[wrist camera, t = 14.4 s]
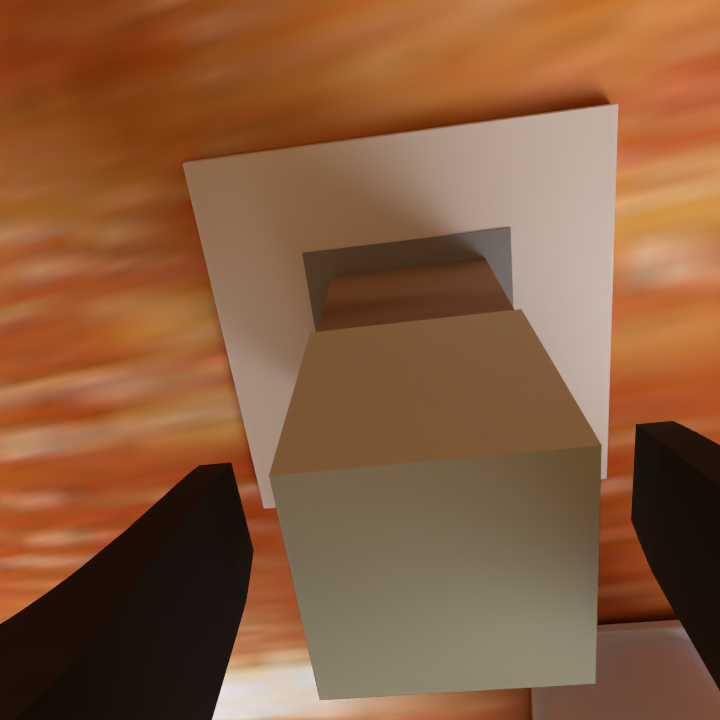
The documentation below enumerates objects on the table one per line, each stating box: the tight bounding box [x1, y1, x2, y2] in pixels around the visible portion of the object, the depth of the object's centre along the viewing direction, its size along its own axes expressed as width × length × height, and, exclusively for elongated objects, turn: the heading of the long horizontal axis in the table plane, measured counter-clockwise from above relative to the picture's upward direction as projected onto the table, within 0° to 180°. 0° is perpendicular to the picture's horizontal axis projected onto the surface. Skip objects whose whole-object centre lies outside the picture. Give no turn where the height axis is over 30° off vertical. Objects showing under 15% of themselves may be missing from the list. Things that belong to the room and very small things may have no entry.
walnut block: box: [318, 258, 514, 332], centre depth 16 cm, size 4×4×5 cm
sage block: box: [269, 309, 602, 700], centre depth 11 cm, size 4×4×5 cm
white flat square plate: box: [182, 103, 618, 509], centre depth 18 cm, size 11×11×1 cm
